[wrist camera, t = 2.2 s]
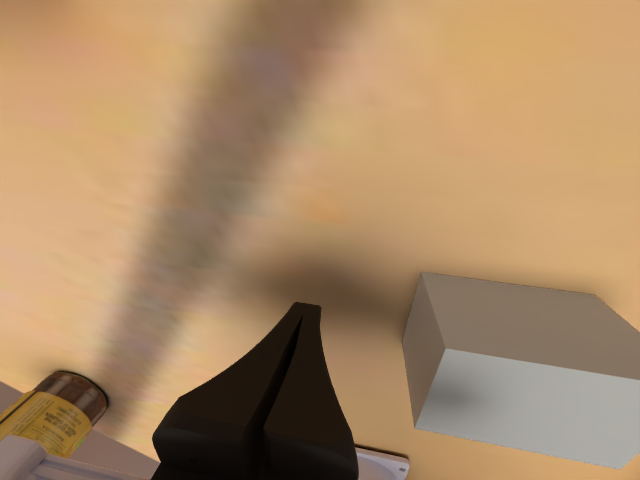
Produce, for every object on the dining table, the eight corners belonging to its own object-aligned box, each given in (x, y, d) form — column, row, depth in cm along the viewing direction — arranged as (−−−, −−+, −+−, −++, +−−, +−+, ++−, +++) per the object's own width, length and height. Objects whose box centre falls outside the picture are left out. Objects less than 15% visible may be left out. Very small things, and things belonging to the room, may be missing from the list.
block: (545, 363, 15) (620, 469, 11) (401, 339, 16) (414, 428, 12) (592, 292, 13) (711, 391, 8) (420, 270, 14) (445, 348, 9)
